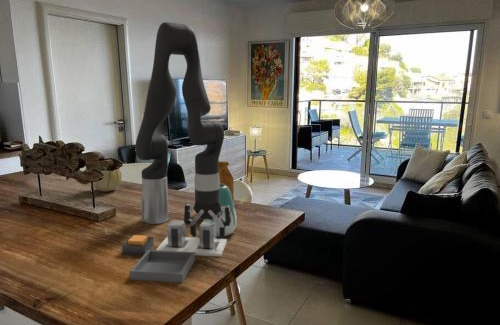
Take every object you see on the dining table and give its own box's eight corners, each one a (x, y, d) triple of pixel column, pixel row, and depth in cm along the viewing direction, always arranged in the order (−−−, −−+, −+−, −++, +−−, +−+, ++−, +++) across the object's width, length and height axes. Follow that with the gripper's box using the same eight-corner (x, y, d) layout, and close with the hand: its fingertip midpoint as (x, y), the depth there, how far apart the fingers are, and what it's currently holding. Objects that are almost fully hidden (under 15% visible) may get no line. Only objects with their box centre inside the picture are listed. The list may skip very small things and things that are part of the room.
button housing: (123, 257, 111) (122, 245, 110) (132, 247, 118) (132, 236, 117) (145, 259, 110) (144, 246, 109) (153, 249, 117) (153, 237, 116)
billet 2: (199, 254, 114) (199, 226, 112) (203, 248, 118) (202, 221, 116) (213, 255, 113) (213, 227, 111) (216, 248, 118) (216, 222, 116)
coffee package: (221, 205, 161) (221, 156, 157) (236, 213, 151) (236, 160, 147) (201, 209, 156) (200, 158, 151) (215, 218, 145) (214, 163, 141)
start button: (128, 248, 112) (128, 240, 111) (134, 242, 116) (134, 235, 115) (142, 248, 111) (142, 241, 111) (148, 242, 115) (147, 235, 115)
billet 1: (168, 252, 115) (167, 225, 113) (172, 246, 119) (171, 220, 117) (181, 253, 114) (181, 225, 112) (186, 247, 119) (185, 220, 117)
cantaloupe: (92, 188, 188) (90, 159, 185) (122, 186, 192) (121, 157, 189) (89, 196, 174) (86, 165, 171) (122, 193, 178) (120, 163, 175)
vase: (241, 229, 134) (241, 181, 130) (229, 241, 123) (229, 190, 120) (212, 225, 138) (211, 178, 134) (198, 237, 127) (196, 186, 123)
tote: (130, 283, 96) (129, 271, 96) (149, 260, 109) (148, 249, 108) (182, 286, 95) (182, 274, 94) (195, 263, 108) (195, 252, 107)
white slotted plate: (155, 256, 112) (155, 250, 112) (167, 241, 123) (167, 236, 122) (220, 260, 110) (220, 253, 109) (227, 244, 121) (226, 239, 120)
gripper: (180, 189, 109) (182, 240, 112) (228, 191, 107) (228, 243, 111) (187, 182, 116) (188, 231, 119) (232, 184, 115) (232, 233, 118)
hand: (207, 237), depth 115 cm, fingers open, 8 cm apart
